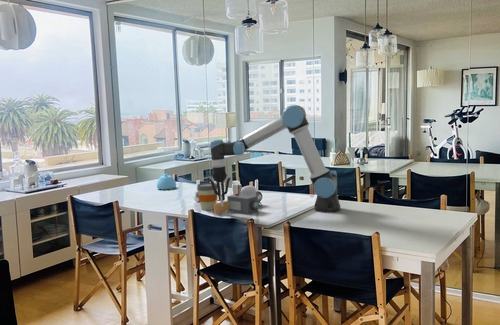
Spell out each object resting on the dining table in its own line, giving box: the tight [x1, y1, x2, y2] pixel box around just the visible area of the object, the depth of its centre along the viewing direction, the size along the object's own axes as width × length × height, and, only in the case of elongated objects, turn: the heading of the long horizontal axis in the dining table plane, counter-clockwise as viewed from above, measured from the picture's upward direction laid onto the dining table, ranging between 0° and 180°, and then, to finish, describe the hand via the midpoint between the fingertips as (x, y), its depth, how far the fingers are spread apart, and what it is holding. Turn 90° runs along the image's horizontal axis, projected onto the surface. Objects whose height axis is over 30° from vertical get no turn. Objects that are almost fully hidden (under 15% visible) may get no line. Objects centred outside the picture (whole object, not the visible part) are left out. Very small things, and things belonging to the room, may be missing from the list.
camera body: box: [227, 192, 260, 215], centre depth 280 cm, size 18×9×10 cm, turn 51°
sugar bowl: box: [156, 173, 177, 190], centre depth 368 cm, size 15×15×12 cm
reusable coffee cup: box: [196, 182, 218, 211], centre depth 292 cm, size 13×12×15 cm
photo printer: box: [240, 185, 257, 196], centre depth 296 cm, size 10×4×12 cm, turn 123°
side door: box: [213, 199, 229, 214], centre depth 278 cm, size 11×1×6 cm, turn 132°
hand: (222, 205), depth 276 cm, fingers closed
